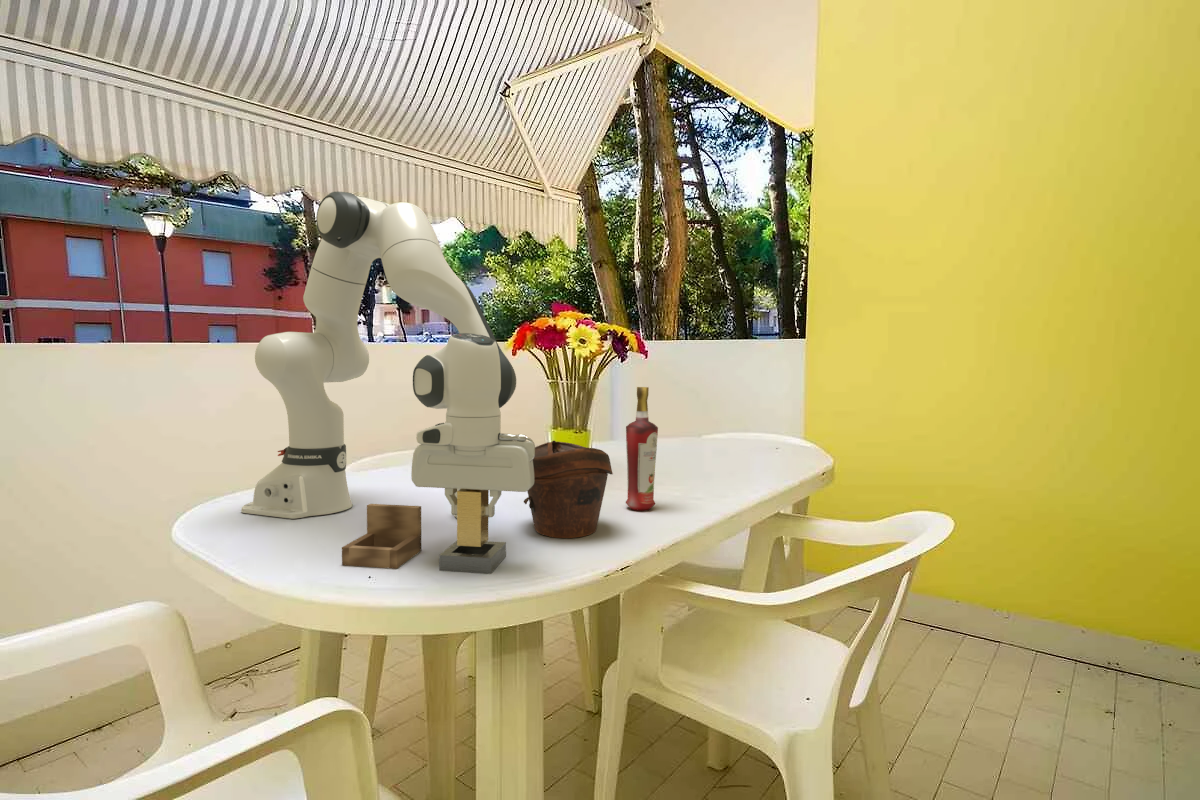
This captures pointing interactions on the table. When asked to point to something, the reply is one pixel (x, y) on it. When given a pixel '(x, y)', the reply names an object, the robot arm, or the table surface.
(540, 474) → the case
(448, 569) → the socket block
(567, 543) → the table surface
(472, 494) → the brass peg block
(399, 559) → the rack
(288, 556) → the table surface
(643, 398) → the liquor
